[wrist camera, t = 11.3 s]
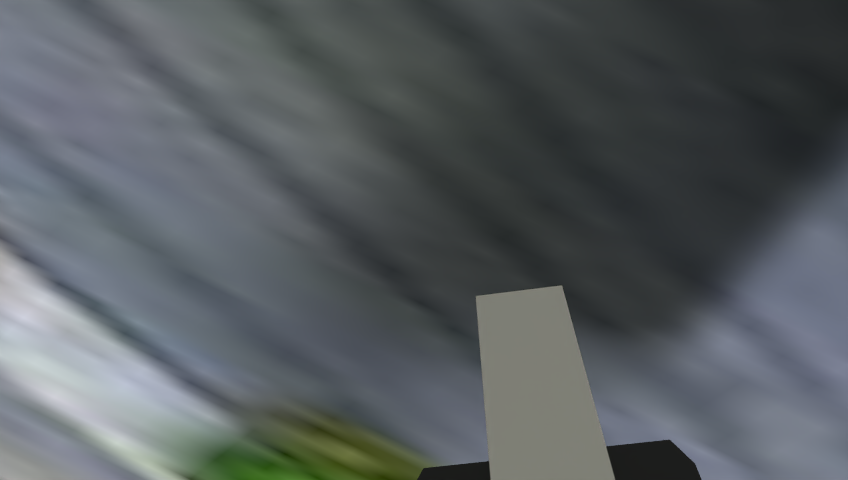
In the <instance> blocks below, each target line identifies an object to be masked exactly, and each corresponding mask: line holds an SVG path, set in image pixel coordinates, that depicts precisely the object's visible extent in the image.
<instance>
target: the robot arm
mask: <svg viewBox="0 0 848 480" xmlns="http://www.w3.org/2000/svg"><path fill="white" fill-rule="evenodd" d="M476 306H477V318H478V330H479V342H480V355H481V367H482V379H483V392H484V404H485V416H486V429H487V441H488V453H489V461H487V462H478V463H468V464H459V465H450V466H440V467H431V468H423V470H422V472H421V474H420V476H419V477H418V479H417V480H701V477H700V475H699V472H698V470H697V468H696V465H695V463H694V462H693V461H692V460H691V459H689V458H688V457H687V456H686V455H685V454H684V453H683V452H682V451H681V450H680V449H679V448H678V447H677V446H676V445H675V444H674V443H673V442H671V441H670V440H663V441H653V442H644V443H635V444H625V445H616V446H607V447H606V444H605V441H604V437H603V434H602V430H601V426H600V423H599V419H598V415H597V412H596V408H595V404H594V401H593V397H592V393H591V390H590V386H589V382H588V379H587V375H586V371H585V368H584V364H583V360H582V357H581V353H580V350H579V346H578V342H577V339H576V335H575V331H574V328H573V324H572V320H571V317H570V313H569V309H568V306H567V302H566V298H565V295H564V291H563V287H562V285H561V286H553V287H545V288H537V289H528V290H520V291H512V292H504V293H496V294H488V295H480V296H476Z"/></svg>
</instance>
